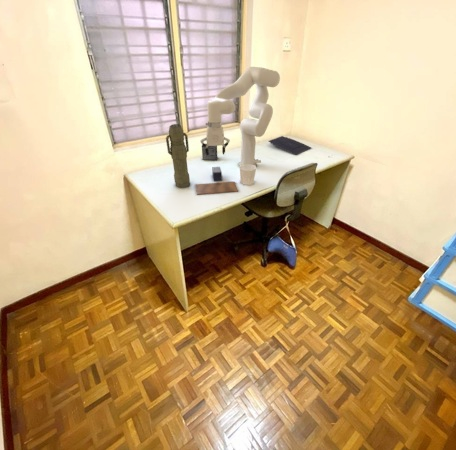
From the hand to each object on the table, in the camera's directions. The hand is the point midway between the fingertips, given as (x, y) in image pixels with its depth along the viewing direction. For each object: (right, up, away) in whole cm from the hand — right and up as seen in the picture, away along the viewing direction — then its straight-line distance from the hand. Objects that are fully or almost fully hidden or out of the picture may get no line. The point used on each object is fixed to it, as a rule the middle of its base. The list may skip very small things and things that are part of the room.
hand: (215, 154), depth 152 cm
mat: (+1, -21, -2) cm, 21 cm away
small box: (-7, +7, +36) cm, 37 cm away
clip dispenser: (0, -13, +9) cm, 16 cm away
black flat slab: (+57, +22, +59) cm, 85 cm away
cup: (+20, -17, +5) cm, 26 cm away
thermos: (-20, -19, +1) cm, 28 cm away
